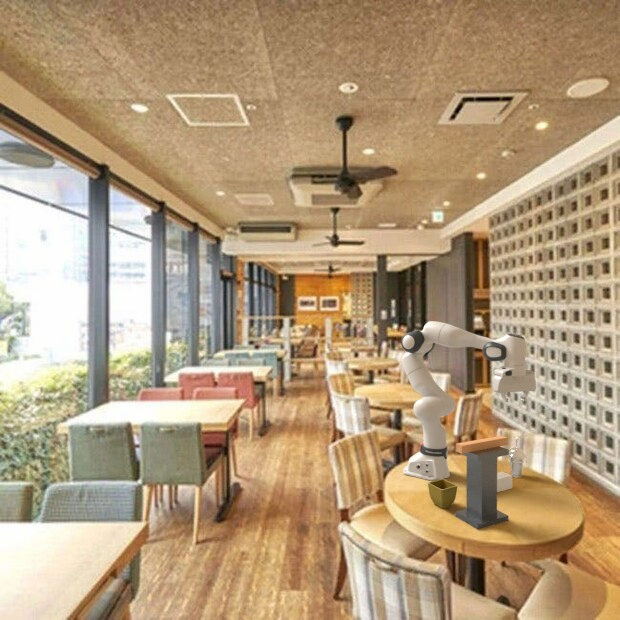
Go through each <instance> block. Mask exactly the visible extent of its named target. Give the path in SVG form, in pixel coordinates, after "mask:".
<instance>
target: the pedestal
mask: <svg viewBox="0 0 620 620" xmlns="http://www.w3.org/2000/svg"><path fill="white" fill-rule="evenodd" d="M454 447H455V449H454V451H455V453H457V454H460V455H462V456H465V457H466V502H465V503H466V504H465V505H466V508H462V509H460V510H455V512H454V516H455V517H456V518H457V519H459V520H461V521H463V523H464V522H465V523H466V524H467V525H469V526H471V527H473V528H474V529H476V530H481V529H484V528H488V527H492V526H496V525H499V524H502V523H505V522H509V518H510V517H509V515H508V514H506V513H504V512H502V511H500V510H498V492H497V472H498V458H499V457H505V456H507V455H509V451H510V449H508V448H506V447H504V446H499V447H494V448H489V449H483V450H478V451H473V452H468V453H459V452H457V451H456V446H454Z"/></svg>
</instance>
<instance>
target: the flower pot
mask: <svg viewBox="0 0 620 620" xmlns="http://www.w3.org/2000/svg"><path fill="white" fill-rule="evenodd" d="M427 487H428V493H429V497H430V499H431V501H432V503H433V504H434V506H435V505H436V506H438V507H439V508H441V509H446V508H448V507H451V506H452V505H453V504H454V503H455V501H456V498H457V492H458V491H457V490H458V485H457V484H454V483H453V482H451V481H448V480H447V479H438V480H434V481H429V482H427Z"/></svg>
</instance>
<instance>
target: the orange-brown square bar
mask: <svg viewBox="0 0 620 620" xmlns="http://www.w3.org/2000/svg"><path fill="white" fill-rule="evenodd" d="M508 445H509V441H508V437H507V436H505V435H497V436H493V437H485V438H480V439H474V440H468V441H463V442H457V443H456V444H455V447H456V451H457V452H459V453H458V454H460V453H468V452H473V451H478V450H483V449H489V448H494V447H499V446H500V447H504V446H508ZM457 452H456V453H457Z"/></svg>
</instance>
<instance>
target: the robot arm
mask: <svg viewBox="0 0 620 620" xmlns="http://www.w3.org/2000/svg"><path fill="white" fill-rule="evenodd" d="M526 343H527V342H526V339H525V337H523V336H522V335H520V334H516V333H506V335H504V336H501V337H499V338H491V337H487V336H482V335H480V334H476V333H473V332H470V331H467V330H465V329H462V328H461V327H458V326H455V325H453V324H449V323H447V322H441V321H436V320H434V321H433V320H430V321H428V322H426V323H425V324H424V326H423V329H422V330H417V329H416V330H414V331H410V332H408V333H405V334H404V335H403V336H402V337H401V341H400V345H401V347H402V349H403V350H404V352H405V351H406V352H405V353H404V354H403V355H402V357H401V358H400V360H401V362H400V363H401V365H402V368H403V370H404V374H405V375H406V377H407V379H408V382H409V383H410V385H411V387H412V389H413V391H414V392H416V393H418V394H420V395H421V396H422V398H420V399H418V400H417V401H415V403H414V404H413V409H412V410H413V413H414V415H415V416H416V418H417V419H418V420H419V422H420V423H421V426H422V432H423V433H422V435H423V436H422V437H423V439H422V441H423V442H420V444H419V449H418V450H419V451H417V453H415V454H413V455H412V456H410V457H409V458H408V459H409V460H408V462H407V465H405V466H404V467H403V469H402V473H403V475H406V476H411V477H414V478H418V479H423V480H427V481H430V482H433V481H437V480H440V479H444V480H446V479H448V478H449V477H451V473H450V470H449V465H448V456H449V453H448V452H449V450H448V444H447V439H448V438H447V433H448V432H447V430H446V428H445V427H444V426H442V423H441V418H442V417H446V416H448V415H451V414H452V413H453V412H455V410H456V407H457V403H456V399H455V398H454V397H453V396H452V395H451V394H449V393H447V392H446V391H444V390H443V388H442V387H440V385H439V384H437V382H436V380H434V377H433V376H432V374H431V373H430V371H429V369H428V367H427V365H426V364H425V363H426V362H425V361H424V358H426V357H427V356H428V355H429V354H430V353H431V352H432V351H433V350H434V349H435V346H436V345H439V346H442V347H446V348H453V349H457V348H476V349H479V350H482V355H483V357H484V358H485V360H487V361H489V362H501V361H502V362H503V363H504V364H503V365H502V366H501V367H498V368H495V369H494V370H493V371H494V373H493V374H495V375H494V377H493V379H492V380H493V381H492V390H493V391H494V392H495V393H498V394H500V396H501V397H502V402H503V403H509V398H508V397H507V396H506V395H507V393H514V392H515V393H517V392H521V393H523V394H522V396H520V401H521V402H526V401H527V397H528V395H529V393H530V392H532V391H535V390H536V389H537V383H536V373H535V372H534V371H533V369H527V362H526V357H527V345H526Z"/></svg>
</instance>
